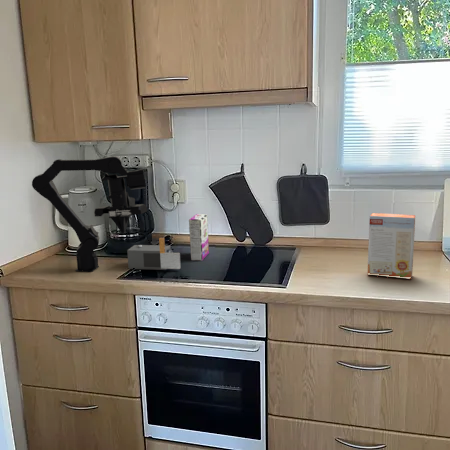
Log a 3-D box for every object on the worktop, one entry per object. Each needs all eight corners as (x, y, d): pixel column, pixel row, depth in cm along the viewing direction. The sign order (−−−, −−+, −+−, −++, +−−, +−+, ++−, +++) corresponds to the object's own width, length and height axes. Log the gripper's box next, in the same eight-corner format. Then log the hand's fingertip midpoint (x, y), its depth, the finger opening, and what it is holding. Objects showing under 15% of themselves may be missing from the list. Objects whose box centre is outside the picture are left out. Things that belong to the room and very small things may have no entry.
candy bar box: (197, 253, 192) (196, 213, 189) (209, 253, 191) (208, 213, 188) (189, 260, 182) (188, 219, 178) (202, 261, 181) (201, 219, 177)
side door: (160, 268, 169) (159, 238, 167) (161, 267, 170) (160, 237, 168) (179, 269, 168) (178, 238, 166) (180, 268, 169) (179, 238, 167)
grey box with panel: (128, 268, 172) (127, 248, 171) (135, 262, 180) (134, 243, 179) (168, 269, 170) (167, 249, 169) (174, 263, 178) (173, 244, 176)
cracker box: (412, 275, 158) (416, 214, 154) (411, 280, 153) (415, 217, 149) (369, 271, 164) (372, 212, 160) (366, 275, 159) (369, 215, 155)
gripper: (150, 186, 175) (155, 227, 178) (105, 189, 180) (112, 228, 183) (137, 191, 164) (143, 234, 167) (90, 194, 169) (97, 236, 173)
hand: (123, 233), depth 173 cm, fingers closed
